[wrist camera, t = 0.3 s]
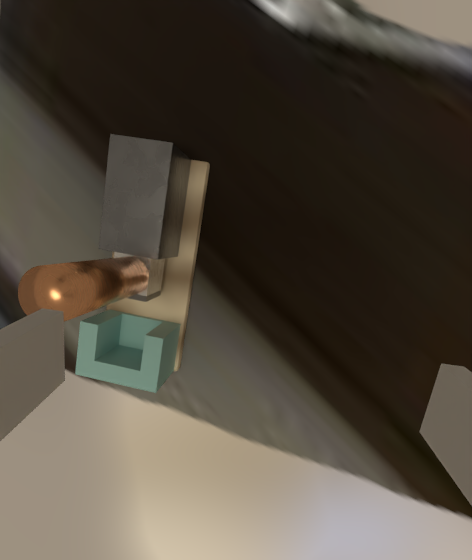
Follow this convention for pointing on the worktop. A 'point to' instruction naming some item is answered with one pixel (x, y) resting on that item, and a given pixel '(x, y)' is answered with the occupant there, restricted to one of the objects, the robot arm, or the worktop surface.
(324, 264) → the worktop surface
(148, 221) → the sleeve
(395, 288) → the worktop surface
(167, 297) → the base board
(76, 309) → the slip bolt
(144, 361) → the socket
